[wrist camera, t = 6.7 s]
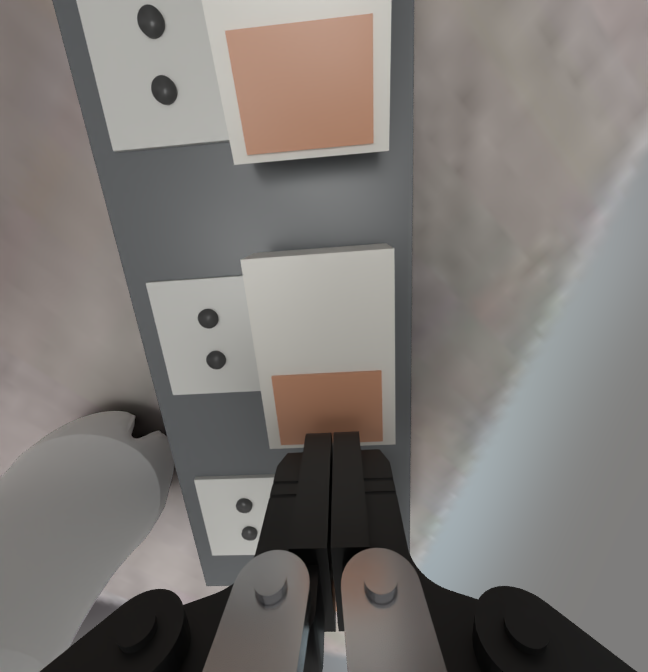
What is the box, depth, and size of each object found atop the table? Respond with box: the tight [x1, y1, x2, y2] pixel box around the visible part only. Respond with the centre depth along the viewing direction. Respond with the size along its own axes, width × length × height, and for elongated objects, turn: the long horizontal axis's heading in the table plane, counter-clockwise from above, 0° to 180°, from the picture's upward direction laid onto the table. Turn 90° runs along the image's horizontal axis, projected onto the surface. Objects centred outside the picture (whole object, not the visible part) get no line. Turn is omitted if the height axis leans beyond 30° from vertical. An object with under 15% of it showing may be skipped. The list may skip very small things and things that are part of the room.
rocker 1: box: [202, 0, 392, 165], centre depth 8 cm, size 6×4×2 cm, turn 4°
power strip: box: [52, 0, 414, 586], centre depth 15 cm, size 26×10×6 cm, turn 4°
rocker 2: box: [240, 243, 396, 449], centre depth 10 cm, size 6×4×2 cm, turn 4°
